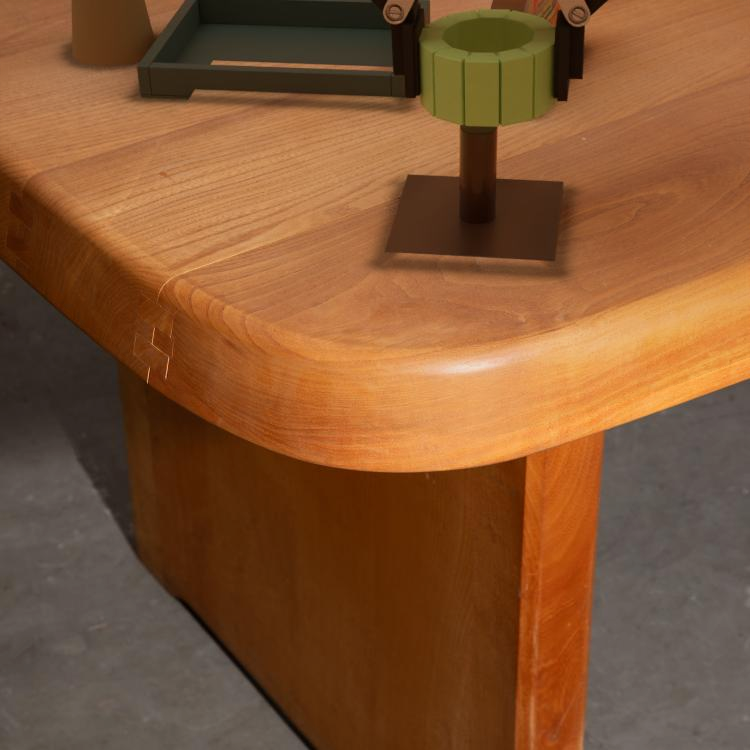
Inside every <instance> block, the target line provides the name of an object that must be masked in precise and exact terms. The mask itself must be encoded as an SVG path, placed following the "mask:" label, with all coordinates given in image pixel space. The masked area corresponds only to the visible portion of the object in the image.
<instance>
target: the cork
mask: <svg viewBox="0 0 750 750" xmlns="http://www.w3.org/2000/svg"><path fill="white" fill-rule="evenodd" d="M70 1H71V46H72V47H71V49H72V50H71V51H72V52H71V53H72V56H73V57H72V58H74V59H75V60H76V61H77V62H79V63H83V64H85V65H88V66H94V67H95V66H96V67H116V66H125V65H129V64H133V63H137V62H140V61H141V60H142V59H143V57H144V56H145V54H146V53H147V52H148V50H149V49H150V48H151V46H152V45H153V43H154V42H155V41H156V38H155V35H154V31H153V27H152V23H151V20H150V15H149V13H148V8H147V4H146V0H70Z"/></svg>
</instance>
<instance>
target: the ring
mask: <svg viewBox="0 0 750 750" xmlns="http://www.w3.org/2000/svg"><path fill="white" fill-rule="evenodd" d="M554 54H555V26H553V25H552V24H551V23H549V22H548V21H547V20H545V19H544V18H540V17H539V16H536V15H531V14H527V13H523V12H519V11H511V12H510V10H504V9H491V8H487V9H486V8H479V9H477V10H476V9H472V10H467V11H461V12H456V13H451V14H447V15H446V16H441V17H439V18H437V19H435V20H433V21H430V23H429V24H427V25H426V26H424V28H423V29H422V32H421V35H420V38H419V66H420V95H419V104H420V106H421V107H423V109H425V111H426V112H428V113H429V114H430V116H431V117H435V118H436V119H437V120H442V121H445V122H449V123H452V124H455V125H459V126H460V125H464V124H465V125H466V126H484V127H499V126H501V127H507V126H511V125H517V124H521V123H525V122H530V121H533V119H534V120H537V119H538V118H540V117H541V116H542V115H544V114H545V113H548V111H550V110H552V109H553V108H554V106H555V105H556V101H557V100H556V99H554V98H553V95H554Z"/></svg>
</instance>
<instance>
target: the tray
mask: <svg viewBox="0 0 750 750" xmlns="http://www.w3.org/2000/svg"><path fill="white" fill-rule="evenodd" d="M418 3H421V8H424V19H425V26H426V25H427V24H429V23H431V0H418ZM213 61H214V62H215V61H216V62H238V63H239V62H240V63H241V62H242V63H266V64H267V63H269V64H270V63H271V64H295V65H296V64H297V65H322V66H323V65H325V66H326V65H327V66H354V67H379V68H393V58H392V34H391V23H389V22H387V21H386V19H385V18H384V16H383V11H382V10H380V9H379V8H378V7H377V6H376V5H375V4H374V3H373V2H372V1H371V0H184V1H183V2H182V4H181V5H180V7H179V8H178V9H177V10H176V12H175V13H174V14H173V16H172V17H171V18H170V20H169V21H168V23H167V25H166V26H165V27H164V28H163V30H162V31H161V32H160V34H159V35H158V37H157V38H155V42H154V43H153V45H152V46H151V48H150V49H149V50H148V52H147V53H146V54H145V56H144V57H143V59H142V60H140V61H139V62H138V64H137V66H136V71H137V72H136V73H137V79H138V87H139V88H138V89H139V94H140V98H146V99H147V98H149V99H172V100H173V99H174V100H176V99H177V100H190V98H191V97H192V95H193V93H194V92H195V90H204V91H229V92H230V91H231V92H253V93H254V92H256V93H278V94H279V93H281V94H302V95H303V94H306V95H310V94H311V95H332V96H354V97H355V96H357V97H381V98H384V97H385V98H391V97H392V98H405V83H404V76H394V74H393V70H371V69H370V70H369V69H342V68H341V69H339V68H315V67H314V68H311V67H290V66H289V67H288V66H287V67H286V66H262V65H261V66H260V65H231V64H213Z"/></svg>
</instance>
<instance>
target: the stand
mask: <svg viewBox="0 0 750 750" xmlns="http://www.w3.org/2000/svg"><path fill="white" fill-rule="evenodd" d="M498 127H499V126H498ZM498 127H484V126H466V125H465V124H464V125H459V169H458V170H459V171H458V173H459V176H454V175H453V176H452V175H451V176H450V175H429V174H428V175H427V174H407V175H406V179H405V182H404V185H403V188H402V193H401V195H400V199H399V201H398V205H397V208H396V212H395V216H394V218H393V221H392V226H391V228H390V231H389V235H388V239H387V241H386V246H385V249H384V253H397V254H398V253H399V254H414V255H415V254H416V255H433V256H452V257H453V256H454V257H469V258H470V257H471V258H488V259H508V260H525V261H526V260H527V261H542V262H543V261H544V262H545V261H546V262H556V258H557V247H558V238H559V228H560V219H561V209H562V202H563V200H562V199H563V192H564V184H565V183H564V181H560V180H559V181H558V180H540V179H539V180H536V179H516V178H497V173H498V169H497V168H498V166H497V165H498V132H499V131H498V129H499V128H498Z"/></svg>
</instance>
